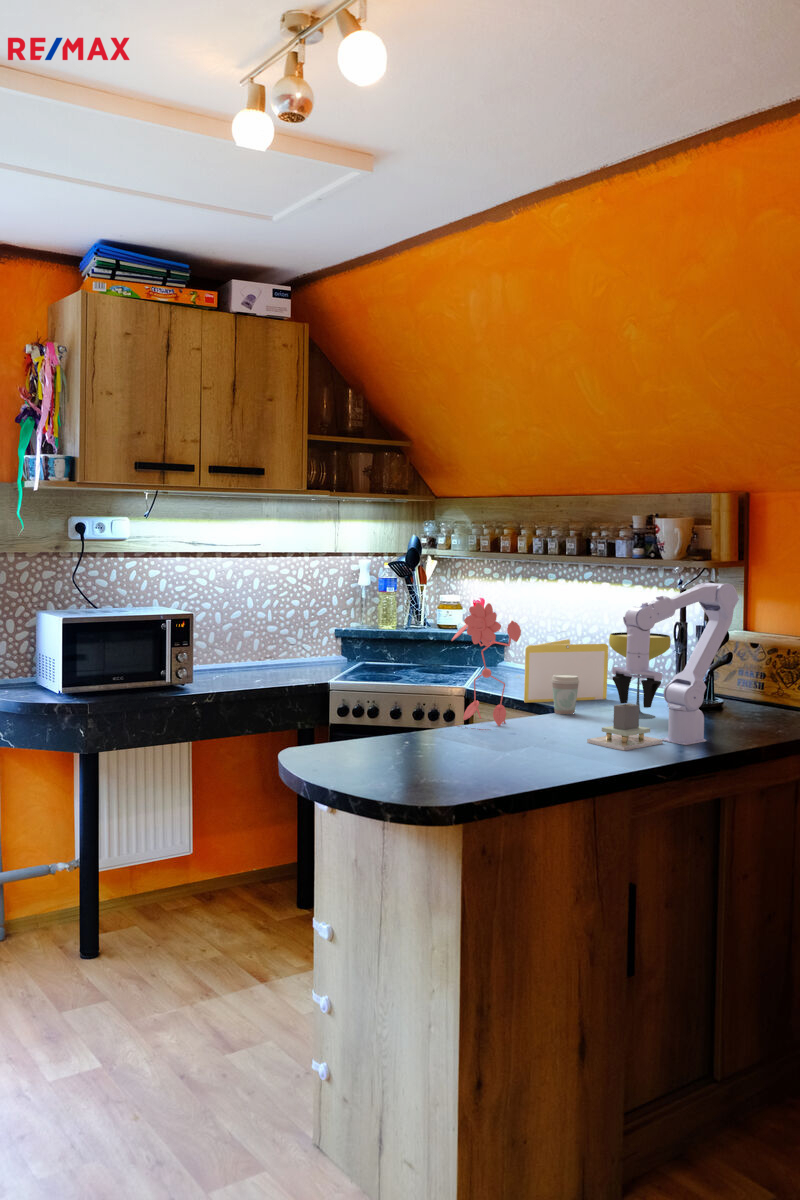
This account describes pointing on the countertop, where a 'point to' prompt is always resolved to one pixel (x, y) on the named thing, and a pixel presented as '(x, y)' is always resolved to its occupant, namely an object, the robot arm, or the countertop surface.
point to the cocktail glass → (656, 648)
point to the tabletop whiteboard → (565, 669)
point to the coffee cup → (565, 693)
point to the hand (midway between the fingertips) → (635, 705)
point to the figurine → (484, 629)
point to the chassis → (624, 741)
